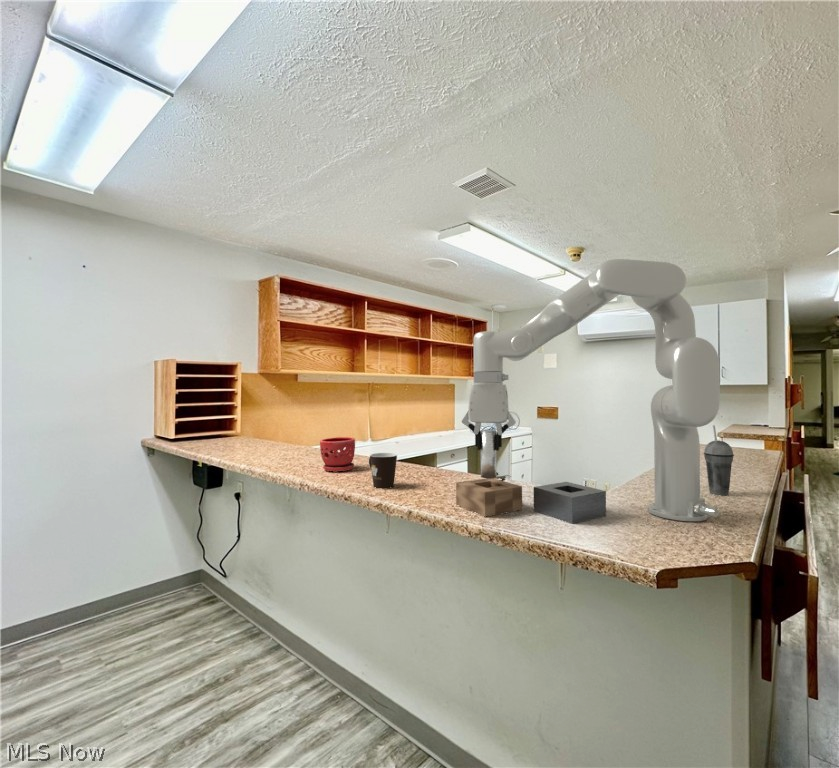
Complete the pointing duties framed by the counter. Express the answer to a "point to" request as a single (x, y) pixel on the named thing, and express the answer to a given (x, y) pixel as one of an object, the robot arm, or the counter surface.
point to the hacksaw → (501, 476)
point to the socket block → (570, 502)
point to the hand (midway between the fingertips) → (488, 448)
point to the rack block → (489, 496)
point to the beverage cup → (718, 466)
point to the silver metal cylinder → (488, 454)
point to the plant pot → (337, 453)
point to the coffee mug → (383, 469)
